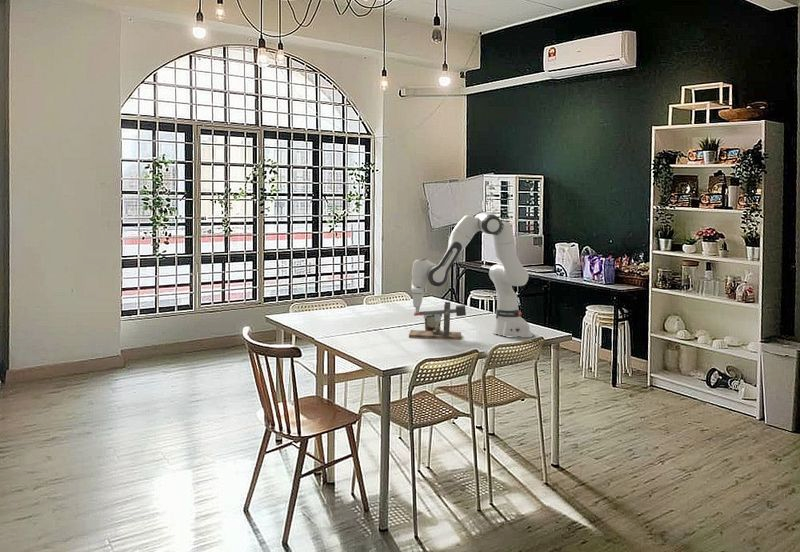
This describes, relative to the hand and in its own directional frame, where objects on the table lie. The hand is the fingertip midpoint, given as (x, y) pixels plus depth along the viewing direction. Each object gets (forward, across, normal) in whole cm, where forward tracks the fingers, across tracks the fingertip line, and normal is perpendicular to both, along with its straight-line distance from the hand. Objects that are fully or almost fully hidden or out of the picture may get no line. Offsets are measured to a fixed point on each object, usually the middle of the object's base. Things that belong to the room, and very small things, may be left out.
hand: (417, 312), depth 380 cm
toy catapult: (+12, 0, +11) cm, 16 cm away
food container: (+12, -14, +7) cm, 20 cm away
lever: (+3, 0, +13) cm, 13 cm away
